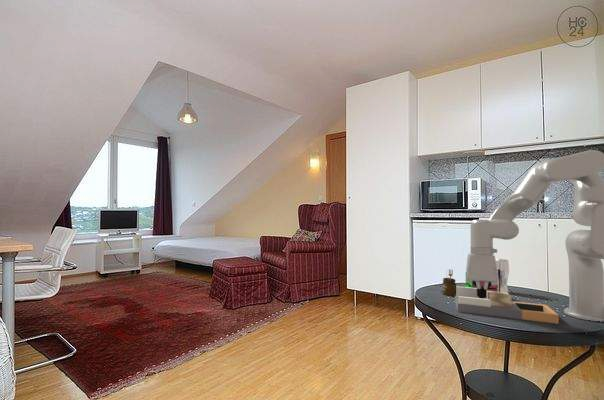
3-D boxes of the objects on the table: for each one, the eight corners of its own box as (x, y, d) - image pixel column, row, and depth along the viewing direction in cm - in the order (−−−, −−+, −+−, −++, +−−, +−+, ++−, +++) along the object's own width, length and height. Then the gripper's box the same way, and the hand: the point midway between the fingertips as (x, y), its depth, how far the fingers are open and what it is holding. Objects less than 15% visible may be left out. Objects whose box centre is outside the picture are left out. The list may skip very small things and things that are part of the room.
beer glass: (492, 288, 154) (492, 258, 154) (509, 291, 149) (509, 259, 150) (491, 291, 148) (491, 260, 148) (508, 294, 144) (508, 261, 144)
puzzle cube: (498, 300, 134) (497, 277, 134) (472, 299, 136) (472, 276, 136) (489, 294, 143) (488, 272, 144) (465, 293, 145) (465, 271, 146)
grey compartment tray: (546, 312, 118) (545, 294, 118) (558, 323, 106) (558, 303, 107) (455, 302, 130) (455, 285, 130) (457, 311, 118) (457, 293, 118)
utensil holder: (454, 293, 145) (454, 267, 145) (458, 296, 139) (458, 269, 139) (440, 292, 146) (440, 266, 147) (444, 295, 140) (443, 269, 140)
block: (507, 303, 120) (507, 292, 120) (511, 307, 114) (511, 296, 114) (486, 300, 122) (486, 290, 123) (489, 305, 117) (489, 294, 117)
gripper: (501, 251, 122) (502, 298, 121) (459, 249, 128) (459, 294, 127) (506, 254, 115) (506, 304, 114) (460, 251, 121) (460, 299, 120)
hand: (481, 298), depth 121 cm, fingers closed
